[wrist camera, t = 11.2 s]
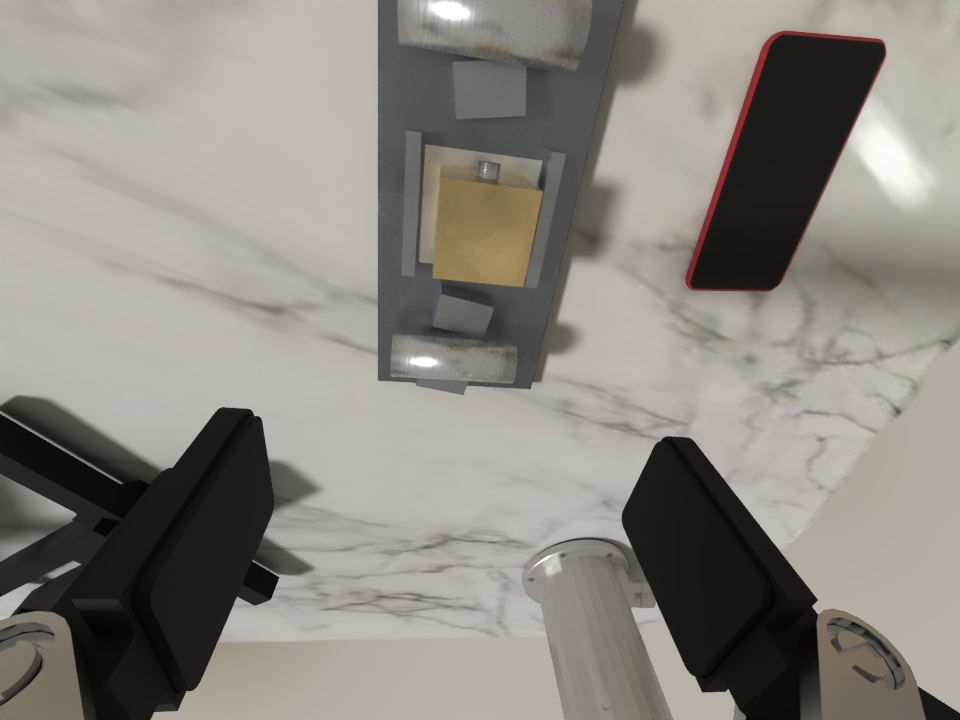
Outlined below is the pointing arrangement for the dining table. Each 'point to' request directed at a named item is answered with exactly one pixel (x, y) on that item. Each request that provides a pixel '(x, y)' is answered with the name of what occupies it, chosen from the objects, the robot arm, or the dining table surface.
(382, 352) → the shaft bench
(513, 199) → the block
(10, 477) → the toy
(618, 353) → the dining table surface
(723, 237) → the smartphone
